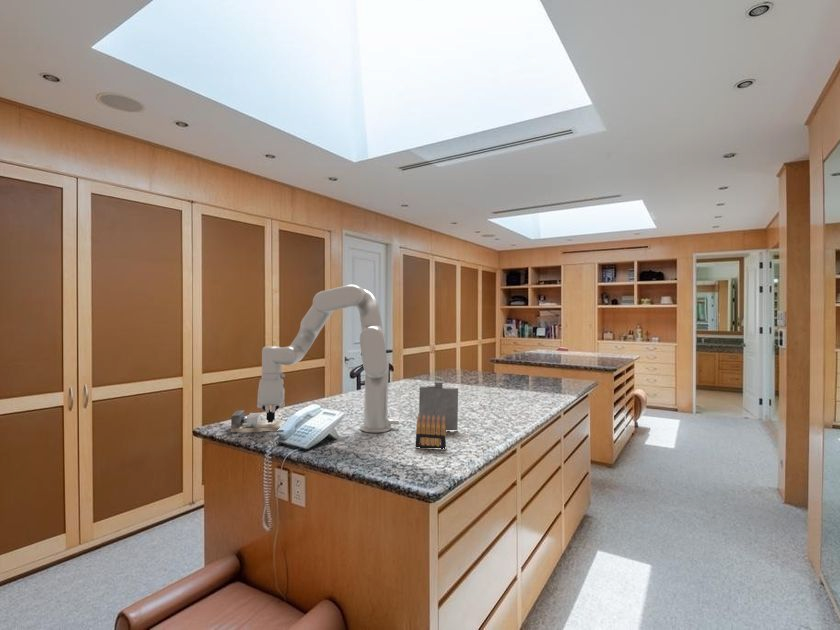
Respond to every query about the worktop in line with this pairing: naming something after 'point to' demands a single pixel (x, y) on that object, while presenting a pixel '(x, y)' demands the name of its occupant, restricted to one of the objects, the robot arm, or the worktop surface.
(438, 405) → the hip flask
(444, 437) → the ammunition clip
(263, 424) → the gauge base
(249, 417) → the gauge carriage
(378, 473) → the worktop surface
